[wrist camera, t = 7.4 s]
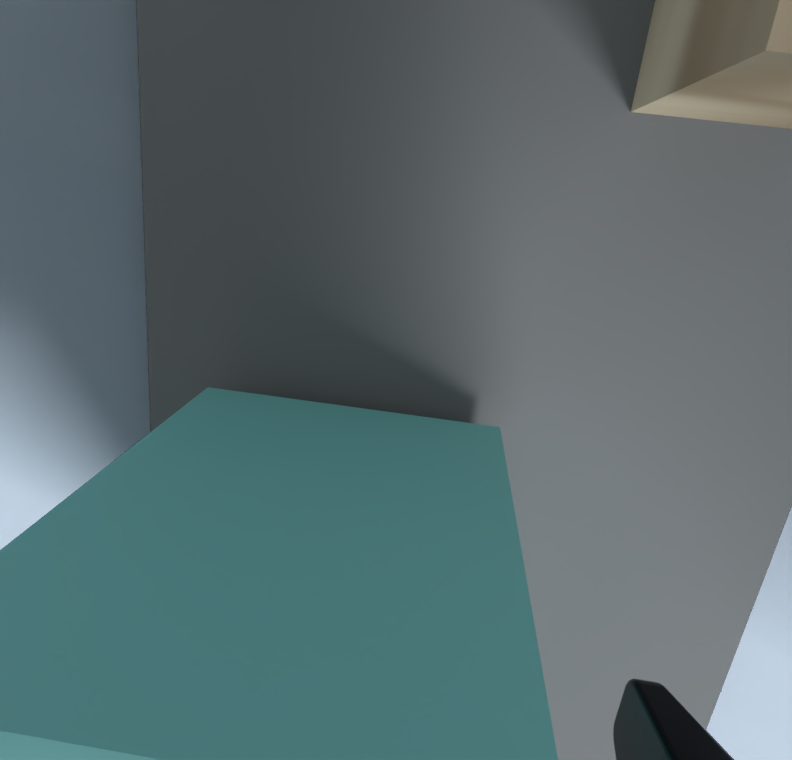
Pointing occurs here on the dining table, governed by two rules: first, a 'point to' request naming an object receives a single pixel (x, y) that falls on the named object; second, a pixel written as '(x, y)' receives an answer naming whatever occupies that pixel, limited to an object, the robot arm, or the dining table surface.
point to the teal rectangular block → (277, 596)
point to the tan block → (718, 62)
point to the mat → (495, 292)
